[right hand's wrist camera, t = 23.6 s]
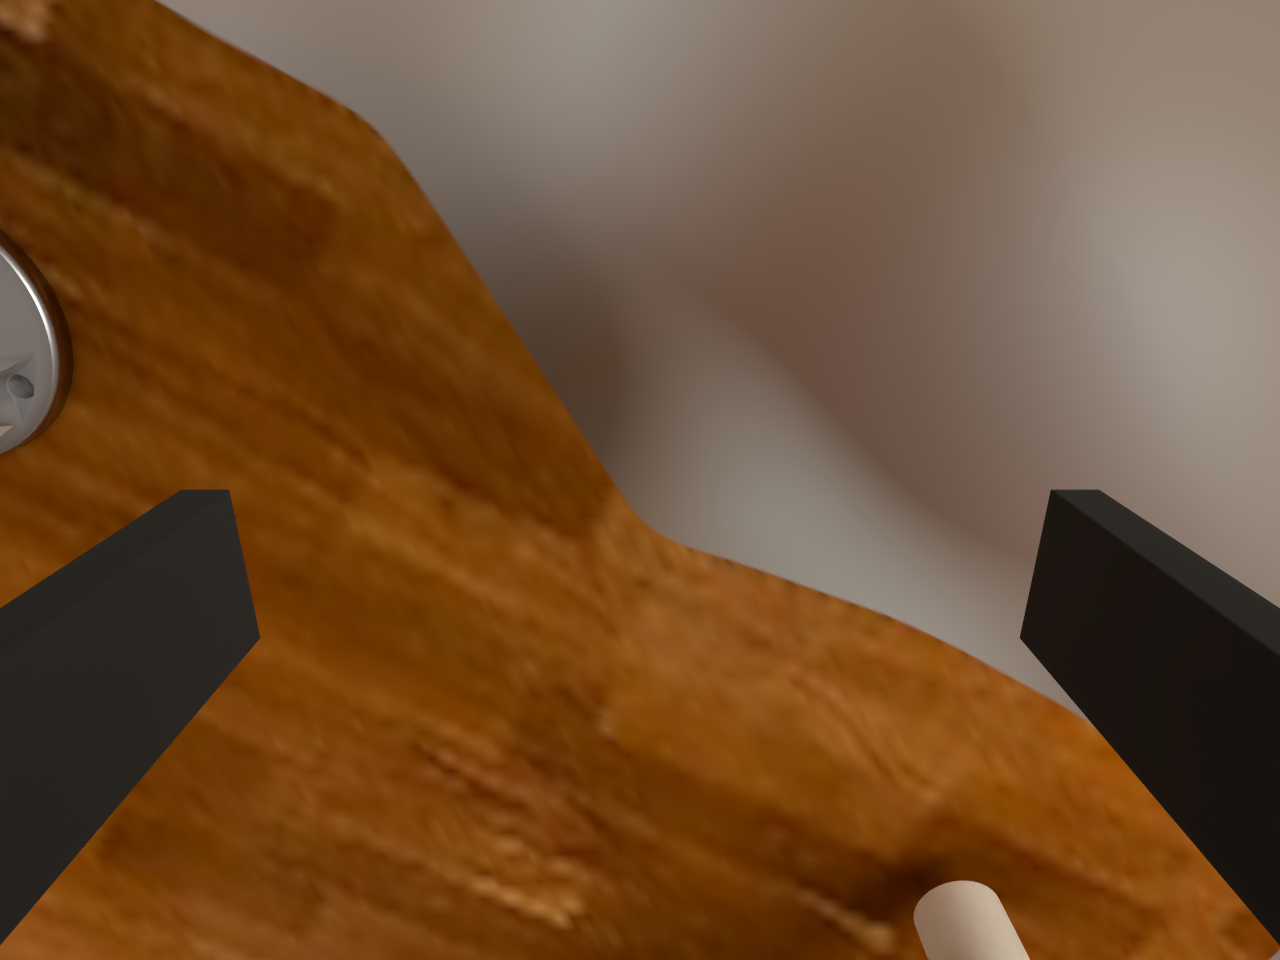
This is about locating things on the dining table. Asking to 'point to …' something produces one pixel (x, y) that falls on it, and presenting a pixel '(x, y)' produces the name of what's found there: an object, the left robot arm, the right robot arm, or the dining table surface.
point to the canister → (966, 924)
